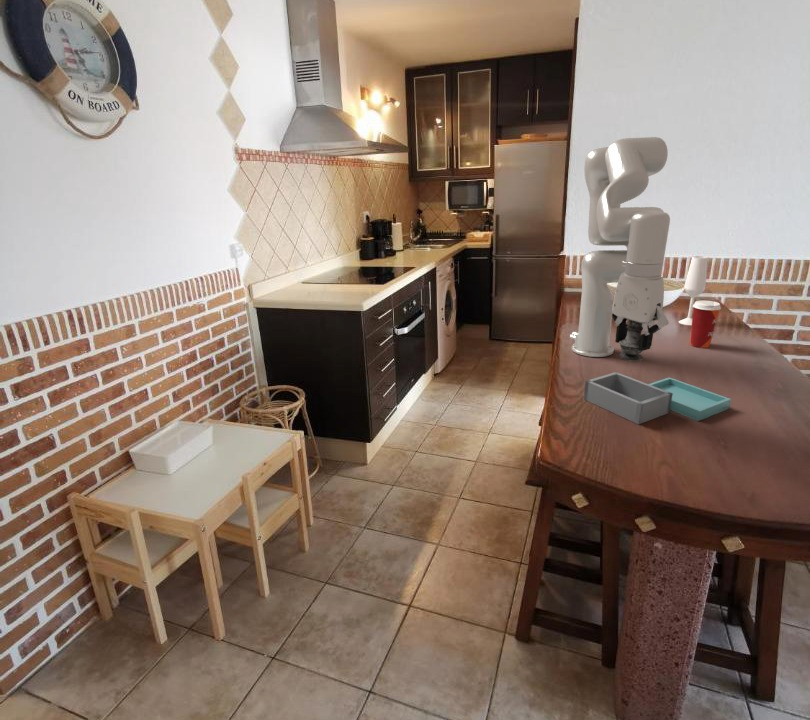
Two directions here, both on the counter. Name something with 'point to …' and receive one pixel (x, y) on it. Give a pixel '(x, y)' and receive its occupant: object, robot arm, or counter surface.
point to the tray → (692, 399)
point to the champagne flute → (695, 283)
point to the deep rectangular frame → (628, 397)
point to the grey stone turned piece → (631, 342)
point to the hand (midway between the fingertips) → (632, 344)
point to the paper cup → (703, 323)
